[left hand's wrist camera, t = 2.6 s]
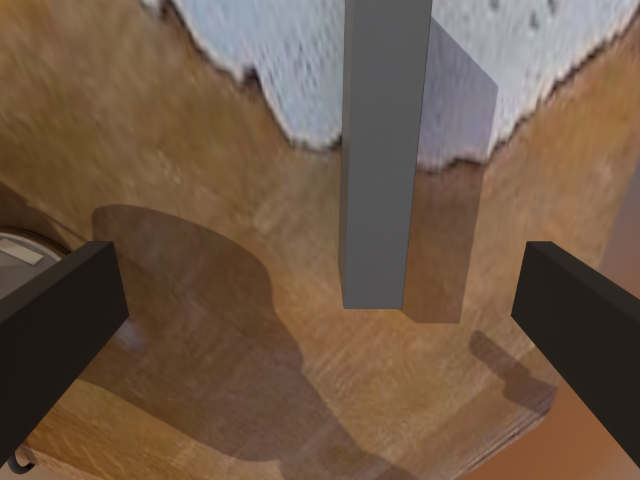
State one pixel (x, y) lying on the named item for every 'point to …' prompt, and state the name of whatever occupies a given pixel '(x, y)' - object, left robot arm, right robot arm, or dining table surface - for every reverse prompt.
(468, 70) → the dining table surface
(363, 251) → the bar
